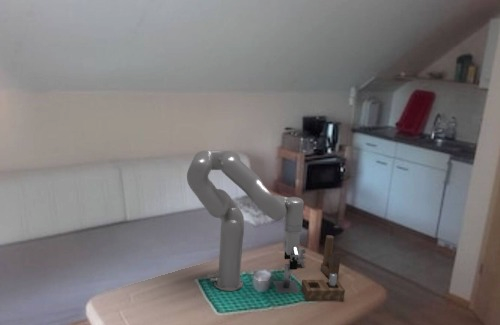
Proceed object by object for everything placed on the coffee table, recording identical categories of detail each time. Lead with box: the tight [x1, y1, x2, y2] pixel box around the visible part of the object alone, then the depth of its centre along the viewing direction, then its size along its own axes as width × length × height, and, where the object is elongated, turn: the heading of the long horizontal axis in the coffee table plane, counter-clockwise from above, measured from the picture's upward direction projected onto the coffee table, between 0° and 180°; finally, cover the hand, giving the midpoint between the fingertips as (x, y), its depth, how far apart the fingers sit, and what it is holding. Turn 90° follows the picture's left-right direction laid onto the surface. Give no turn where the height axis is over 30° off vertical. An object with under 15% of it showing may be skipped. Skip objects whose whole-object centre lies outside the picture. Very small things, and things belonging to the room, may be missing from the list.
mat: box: [272, 280, 301, 294], centre depth 193 cm, size 10×10×1 cm
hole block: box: [300, 279, 346, 302], centre depth 188 cm, size 16×9×5 cm, turn 98°
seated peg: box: [328, 273, 337, 288], centre depth 188 cm, size 3×3×10 cm
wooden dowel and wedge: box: [320, 234, 342, 281], centre depth 205 cm, size 4×11×18 cm, turn 18°
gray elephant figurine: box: [288, 247, 306, 269], centre depth 216 cm, size 9×12×8 cm
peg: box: [282, 263, 292, 288], centre depth 192 cm, size 3×3×10 cm
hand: (290, 263), depth 190 cm, fingers open, 9 cm apart
